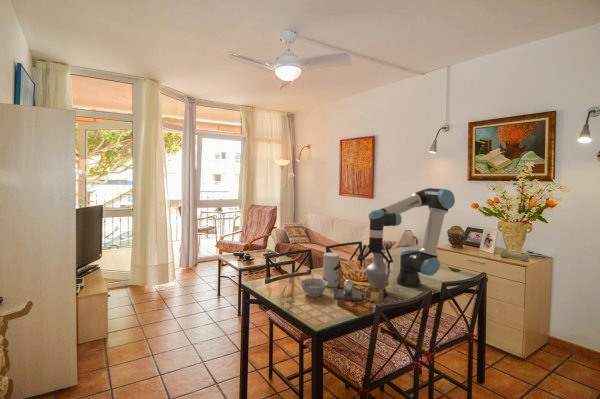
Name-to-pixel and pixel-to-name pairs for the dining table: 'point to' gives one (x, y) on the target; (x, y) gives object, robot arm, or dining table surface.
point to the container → (331, 269)
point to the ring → (373, 293)
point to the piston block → (347, 292)
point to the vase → (377, 271)
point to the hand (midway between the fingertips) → (374, 273)
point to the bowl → (313, 286)
